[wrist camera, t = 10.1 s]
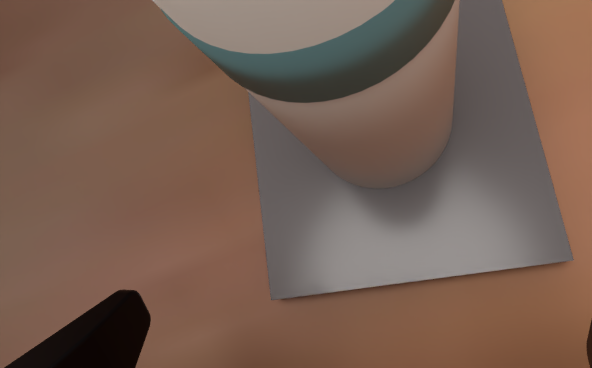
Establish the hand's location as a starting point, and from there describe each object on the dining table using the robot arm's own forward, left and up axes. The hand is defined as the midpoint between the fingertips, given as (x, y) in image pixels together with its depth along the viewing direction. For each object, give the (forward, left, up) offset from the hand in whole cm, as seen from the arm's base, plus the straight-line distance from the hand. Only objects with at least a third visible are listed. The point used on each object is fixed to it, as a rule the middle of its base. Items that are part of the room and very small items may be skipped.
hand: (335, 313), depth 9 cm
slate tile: (+7, -1, -10) cm, 12 cm away
